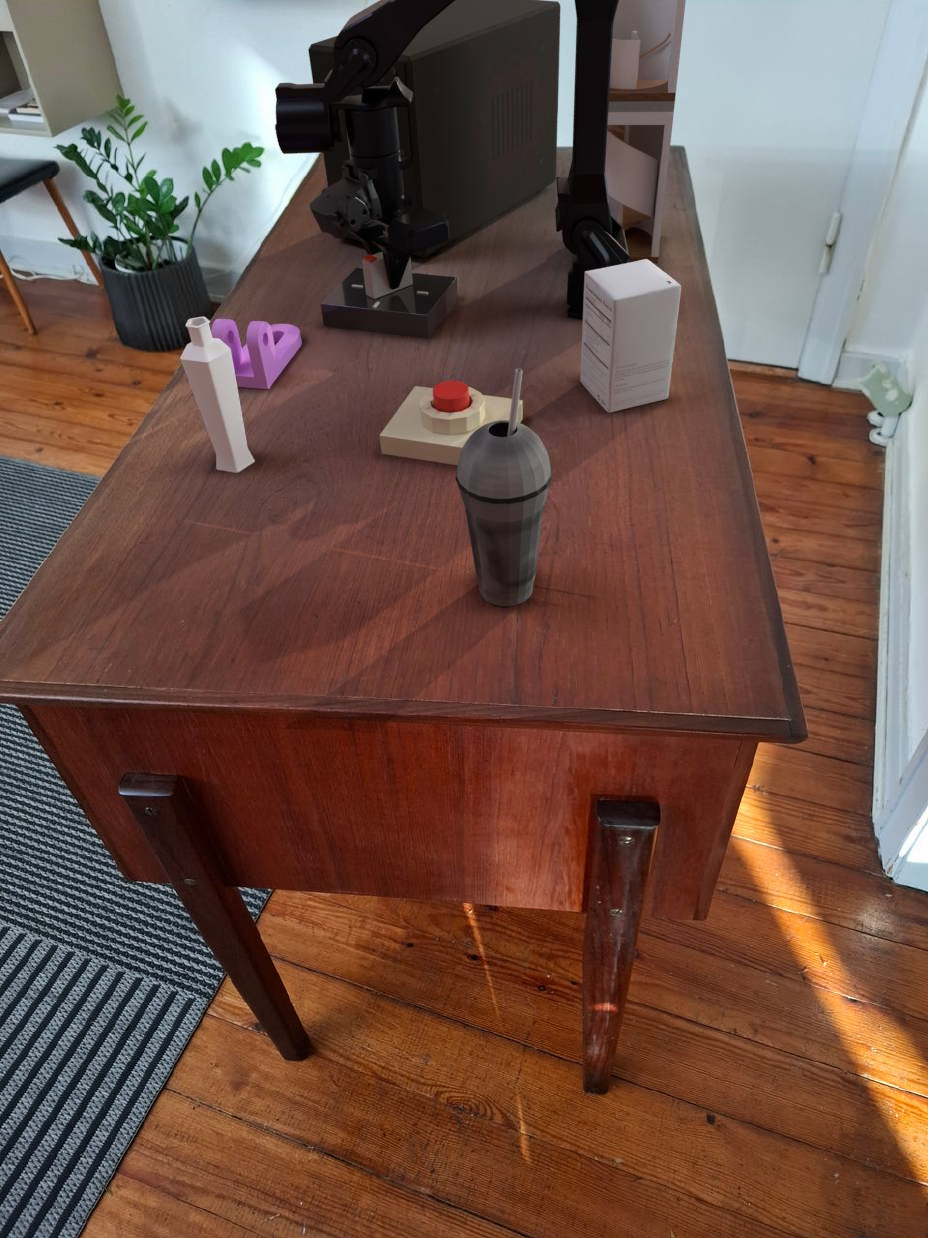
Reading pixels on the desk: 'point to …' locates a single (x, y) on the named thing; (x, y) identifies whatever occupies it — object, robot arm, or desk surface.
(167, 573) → the desk surface
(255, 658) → the desk surface
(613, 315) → the white packaging box
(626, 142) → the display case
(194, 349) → the perfume bottle
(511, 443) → the beverage cup
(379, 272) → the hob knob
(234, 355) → the bracket
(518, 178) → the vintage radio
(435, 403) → the button
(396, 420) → the block
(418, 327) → the panel
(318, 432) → the desk surface
